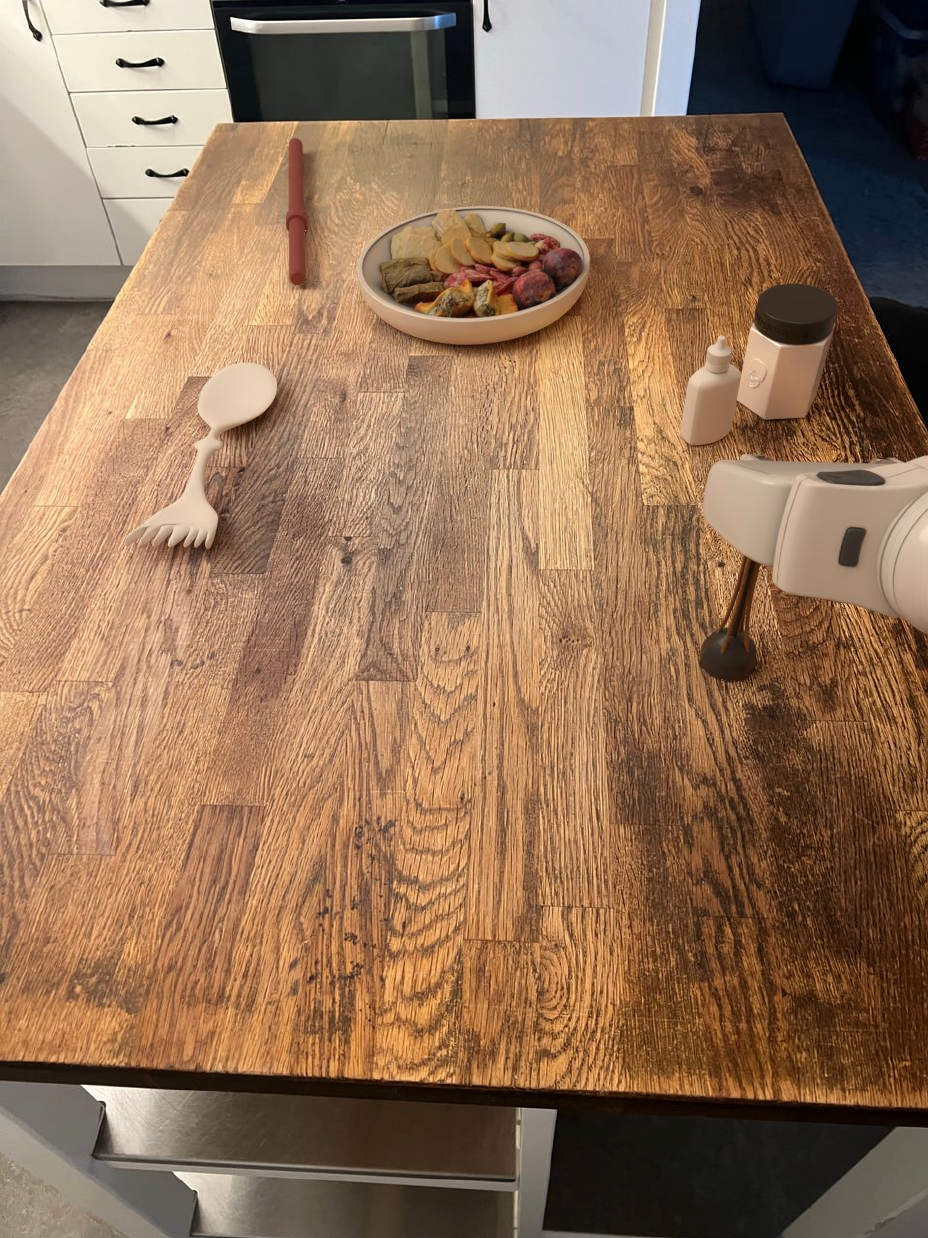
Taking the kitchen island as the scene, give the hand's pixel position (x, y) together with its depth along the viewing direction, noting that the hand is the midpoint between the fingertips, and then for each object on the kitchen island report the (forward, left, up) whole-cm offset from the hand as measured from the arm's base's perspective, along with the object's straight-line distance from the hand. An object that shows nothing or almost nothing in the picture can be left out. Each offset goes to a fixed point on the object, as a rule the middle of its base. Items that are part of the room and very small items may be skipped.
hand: (814, 467), depth 64 cm
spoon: (+52, -33, -24) cm, 66 cm away
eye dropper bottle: (-2, -35, -24) cm, 42 cm away
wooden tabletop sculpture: (+2, -3, -24) cm, 24 cm away
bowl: (+23, -67, -24) cm, 75 cm away
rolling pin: (+49, -92, -24) cm, 107 cm away
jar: (-11, -41, -24) cm, 48 cm away
